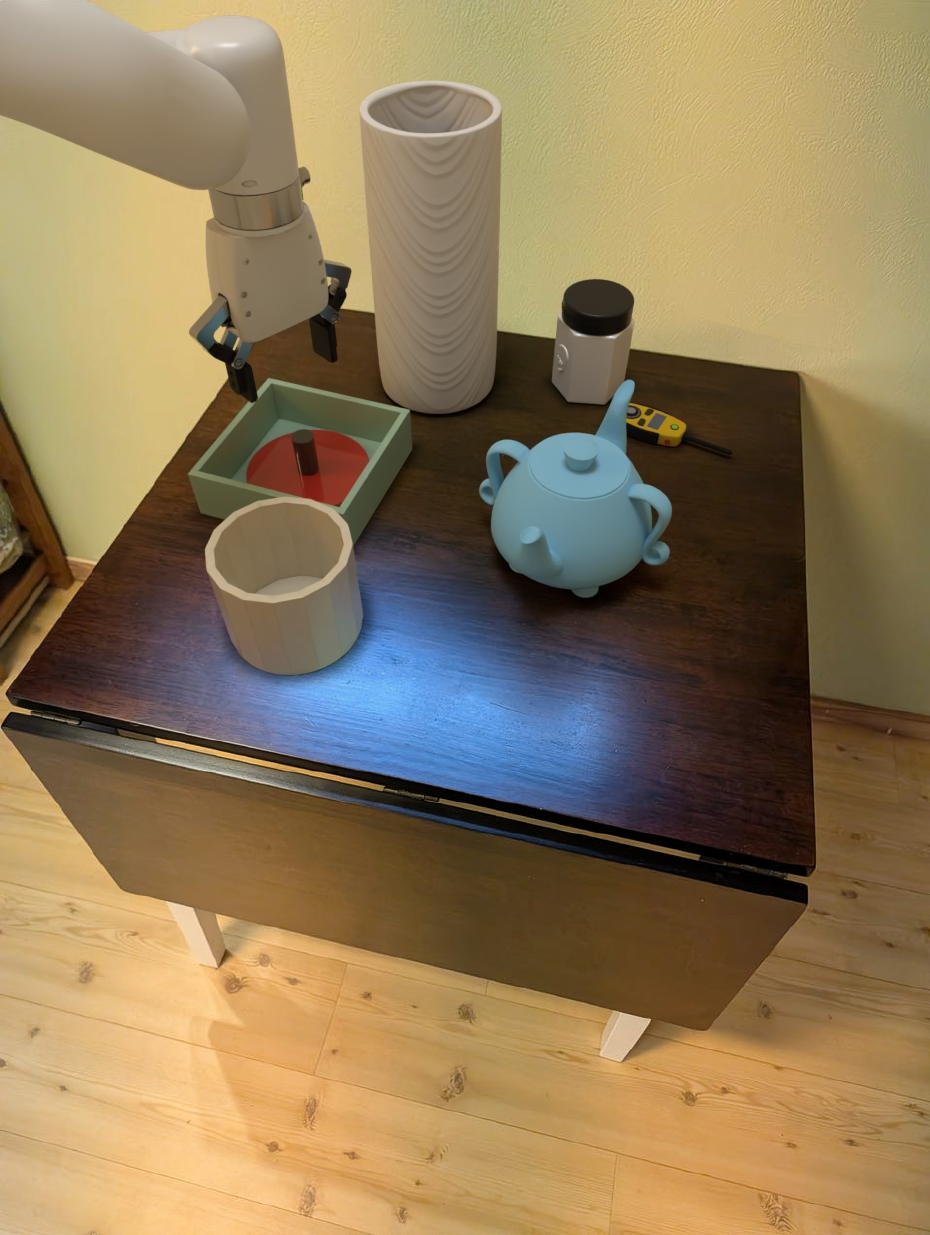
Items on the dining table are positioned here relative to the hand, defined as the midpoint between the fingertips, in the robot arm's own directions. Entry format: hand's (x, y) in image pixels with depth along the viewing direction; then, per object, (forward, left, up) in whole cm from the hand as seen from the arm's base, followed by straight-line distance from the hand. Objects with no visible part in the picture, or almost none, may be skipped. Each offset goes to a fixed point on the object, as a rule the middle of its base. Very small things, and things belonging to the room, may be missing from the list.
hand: (287, 375), depth 83 cm
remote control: (+42, -3, -14) cm, 45 cm away
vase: (+18, +14, -14) cm, 27 cm away
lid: (0, 0, -13) cm, 13 cm away
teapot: (+24, -18, -14) cm, 33 cm away
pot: (-4, -20, -14) cm, 24 cm away
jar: (+36, +9, -14) cm, 40 cm away
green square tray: (0, 0, -14) cm, 14 cm away
